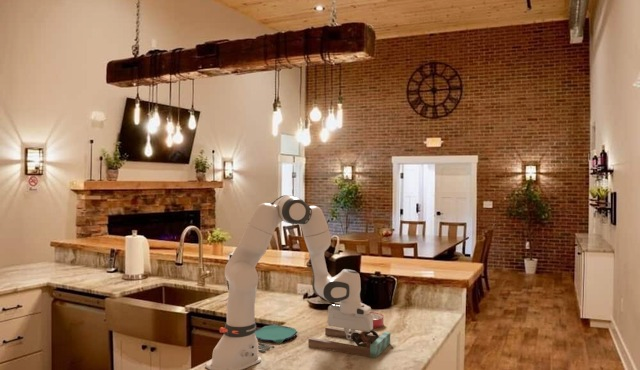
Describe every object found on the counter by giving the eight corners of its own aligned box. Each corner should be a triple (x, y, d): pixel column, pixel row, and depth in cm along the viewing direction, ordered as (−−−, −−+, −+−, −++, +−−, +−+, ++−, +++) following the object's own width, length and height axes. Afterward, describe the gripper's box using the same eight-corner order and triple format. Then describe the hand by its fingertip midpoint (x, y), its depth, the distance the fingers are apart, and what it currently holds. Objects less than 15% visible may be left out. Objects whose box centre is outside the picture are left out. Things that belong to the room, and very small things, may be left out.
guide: (375, 358, 200) (375, 346, 200) (308, 345, 213) (308, 334, 213) (390, 343, 217) (390, 332, 217) (327, 333, 230) (327, 322, 230)
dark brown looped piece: (374, 342, 219) (380, 329, 215) (375, 359, 211) (381, 346, 207) (348, 336, 218) (353, 323, 214) (348, 352, 210) (353, 339, 206)
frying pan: (366, 343, 218) (366, 328, 217) (338, 338, 223) (339, 324, 223) (386, 322, 247) (386, 310, 247) (361, 319, 252) (361, 306, 252)
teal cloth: (304, 333, 230) (304, 328, 229) (267, 355, 203) (267, 350, 203) (269, 327, 239) (269, 322, 239) (229, 347, 213) (229, 342, 213)
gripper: (325, 305, 216) (324, 337, 217) (369, 311, 208) (369, 344, 208) (331, 302, 222) (330, 332, 222) (374, 308, 213) (374, 340, 214)
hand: (349, 338), depth 215 cm, fingers closed
